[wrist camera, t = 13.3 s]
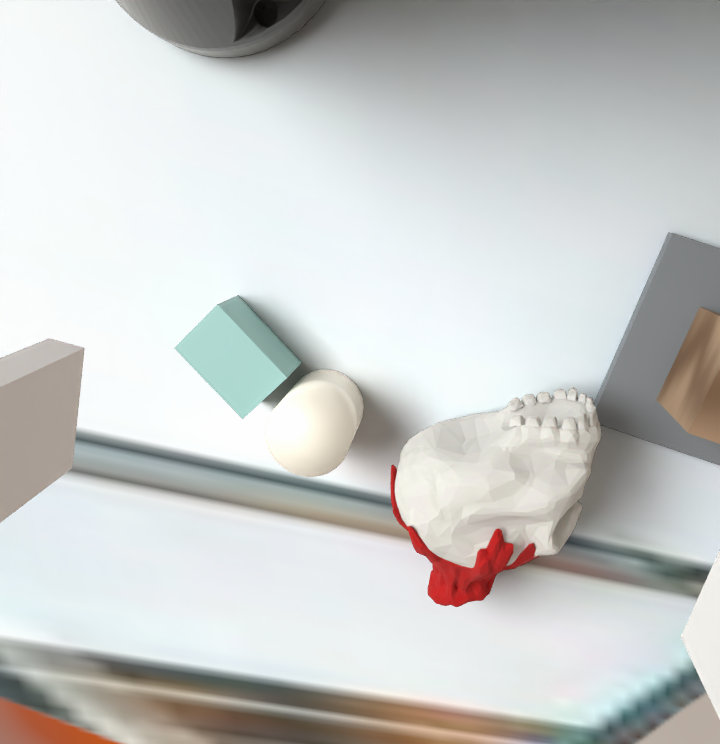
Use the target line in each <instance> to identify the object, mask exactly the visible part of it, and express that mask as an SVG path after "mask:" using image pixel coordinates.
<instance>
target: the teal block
mask: <svg viewBox="0 0 720 744" xmlns="http://www.w3.org/2000/svg"><path fill="white" fill-rule="evenodd" d="M175 349H176V350H177V351H178V352H179V353H180V354H181V356H182V357H183V358H184V359H185V360H186V361H187V362H188V363H189V364H190V365H191V366H192V367H193V368H194V369H195V370H196V371H197V372H198V373H199V374H200V375H201V376H202V377H203V378H204V379H205V380H206V382H207V383H208V384H209V385H210V386H211V387H212V388H213V389H214V390H215V391H216V392H217V393H218V394H219V395H220V396H221V397H222V398H223V399H224V400H225V401H226V402H227V403H228V404H229V405H230V406H231V407H232V409H233V410H234V411H235V412H236V413H237V414H238V415H239V416H240V417H241V418H242V419H243V418H244V417H245V416H247V415H248V414H249V413H250V412H251V411H252V410H253V409H254V408H255V407H256V406H257V405H258V404H260V403H261V402H262V401H263V400H264V399H265V398H266V397H267V396H268V395H269V394H270V393H271V392H273V391H274V390H275V389H276V388H277V387H278V386H279V385H280V384H281V383H282V382H283V381H284V380H286V379H287V378H288V377H289V376H290V375H291V373H292V372H293V371H294V370H295V369H296V368H297V367H298V366H299V365H300V364H301V363H302V362H301V361H300V360H299V359H298V358H297V357H296V356H295V355H294V354H293V353H292V352H291V351H290V350H289V349H288V348H287V347H286V345H285V344H284V343H283V342H282V341H281V340H280V339H279V338H278V337H277V336H276V335H275V334H274V333H273V332H272V331H271V330H270V329H269V327H268V326H267V325H266V324H265V323H264V322H263V321H262V320H261V319H260V318H259V317H258V316H257V315H256V314H255V313H254V312H253V311H252V309H251V308H250V307H249V306H248V305H247V304H246V303H245V302H244V301H243V300H242V299H241V298H240V297H239V296H236V297H233V298H231V299H229V300H227V301H224V302H222V303H220V304H218V305H217V306H216V307H215V308H214V309H213V310H212V311H211V312H210V313H209V314H208V315H207V316H206V317H205V318H204V319H203V320H202V321H201V322H200V323H199V324H198V325H197V326H196V327H195V328H194V329H193V330H192V331H191V332H190V333H189V334H188V335H187V336H186V337H185V338H184V339H183V340H182V341H181V342H180V343H179V344H178V345H177V346H176V347H175Z"/></svg>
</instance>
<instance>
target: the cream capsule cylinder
mask: <svg viewBox="0 0 720 744" xmlns="http://www.w3.org/2000/svg"><path fill="white" fill-rule="evenodd" d="M363 411H364V403H363V398H362V395H361V393H360V390H359V389H358V387H357V386H356V384H355V383H354V382H353V381H352V380H351V379H350V378H348V377H347V376H346V375H344V374H342V373H340V372H337V371H334V370H328V369H322V370H316V371H312V372H310V373H308V374H306V375H304V376H303V377H302V378H301V379H300V380H299V381H298V382H297V383H296V384H295V385H294V386H293V388H292V389H291V390H290V391H289V392H288V393H287V395H286V396H285V397H284V398H283V399H282V400H281V401H280V403H279V404H278V405H277V406H276V407H275V408H274V410H273V411H272V412H271V414H270V416H269V418H268V421H267V424H266V430H265V436H266V443H267V446H268V449H269V451H270V453H271V455H272V456H273V458H274V459H275V460H276V461H277V463H279V464H280V465H281V466H282V467H283V468H285V469H286V470H288V471H290V472H292V473H294V474H297V475H300V476H306V477H315V476H321V475H324V474H327V473H329V472H331V471H332V470H334V469H335V468H337V467H338V466H339V465H340V464H341V462H342V461H343V460H344V458H345V456H346V454H347V452H348V450H349V447H350V445H351V443H352V440H353V438H354V436H355V434H356V431H357V429H358V427H359V424H360V422H361V420H362V416H363Z"/></svg>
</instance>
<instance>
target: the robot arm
mask: <svg viewBox="0 0 720 744" xmlns="http://www.w3.org/2000/svg"><path fill="white" fill-rule="evenodd" d="M116 1H117V3H118V4H119V5H120V6H121V7H122V8H123V9H124V10H125V11H126V12H127V13H128V14H129V15H130V16H131V17H132V18H133V19H134V20H135V21H136V22H138V23H139V24H140V25H141V26H143V27H144V28H145V29H147V30H148V31H150V32H151V33H153V34H155V35H157V36H158V37H160V38H162V39H164V40H166V41H168V42H169V43H171V44H173V45H175V46H177V47H180V48H182V49H184V50H187V51H190V52H193V53H196V54H200V55H205V56H211V57H239V56H246V55H250V54H254V53H258V52H261V51H264V50H266V49H269V48H271V47H273V46H275V45H277V44H279V43H281V42H283V41H284V40H286V39H287V38H289V37H290V36H292V35H293V34H294V33H296V32H297V31H298V30H300V29H301V28H302V27H303V26H304V25H305V24H306V23H307V22H308V21H309V20H310V19H311V18H312V17H313V16H314V15H315V14H316V13H317V11H318V10H319V9H320V8H321V6H322V5H323V4H324V2H325V1H326V0H116ZM83 357H84V348H83V347H79V346H75V345H72V344H68V343H64V342H60V341H57V340H53V339H47V340H44V341H42V342H39V343H37V344H34V345H32V346H30V347H27V348H25V349H22V350H20V351H17V352H15V353H12V354H10V355H7V356H5V357H2V358H0V522H2V521H3V520H4V519H6V518H7V517H8V516H10V515H11V514H12V513H14V512H15V511H16V510H17V509H19V508H20V507H21V506H23V505H24V504H25V503H27V502H28V501H29V500H31V499H32V498H33V497H35V496H36V495H37V494H39V493H40V492H41V491H43V490H44V489H45V488H46V487H48V486H49V485H50V484H52V483H53V482H54V481H56V480H57V479H58V478H60V477H61V476H62V475H64V474H65V473H66V472H68V471H69V470H70V469H72V465H73V455H74V446H75V436H76V426H77V416H78V406H79V397H80V387H81V377H82V367H83ZM681 639H682V641H683V643H684V645H685V647H686V650H687V652H688V654H689V656H690V658H691V660H692V662H693V664H694V666H695V669H696V671H697V673H698V675H699V677H700V679H701V681H702V683H703V685H704V688H705V690H706V692H707V694H708V696H709V698H710V700H711V702H712V704H713V706H714V709H715V711H716V713H717V715H718V717H719V719H720V551H719V553H718V555H717V557H716V559H715V562H714V564H713V566H712V568H711V571H710V573H709V575H708V577H707V580H706V582H705V584H704V586H703V589H702V591H701V593H700V595H699V597H698V600H697V602H696V604H695V606H694V609H693V611H692V613H691V615H690V618H689V620H688V622H687V624H686V627H685V629H684V631H683V633H682V635H681Z"/></svg>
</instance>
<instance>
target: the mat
mask: <svg viewBox="0 0 720 744" xmlns="http://www.w3.org/2000/svg"><path fill="white" fill-rule="evenodd" d="M700 307H702V308H705V309H708V310H711V311H714V312H717V313H720V248H717V247H714V246H711V245H707V244H704V243H701V242H698V241H695V240H692V239H689V238H686V237H683V236H679V235H676V234H673V233H668V235H667V237H666V239H665V242H664V244H663V246H662V249H661V251H660V253H659V256H658V258H657V260H656V262H655V265H654V267H653V269H652V272H651V274H650V276H649V278H648V281H647V283H646V285H645V288H644V290H643V292H642V295H641V297H640V299H639V301H638V304H637V306H636V308H635V311H634V313H633V315H632V317H631V320H630V322H629V324H628V327H627V329H626V331H625V334H624V336H623V338H622V340H621V343H620V345H619V347H618V350H617V352H616V354H615V356H614V359H613V361H612V363H611V366H610V368H609V370H608V373H607V375H606V377H605V379H604V382H603V384H602V386H601V389H600V391H599V393H598V395H597V398H596V400H595V402H594V406H595V407H596V412H597V416H598V421H599V423H600V425H602V426H605V427H608V428H611V429H614V430H617V431H620V432H623V433H626V434H629V435H632V436H635V437H638V438H641V439H644V440H647V441H649V442H652V443H655V444H658V445H661V446H664V447H667V448H670V449H673V450H676V451H679V452H682V453H685V454H688V455H691V456H694V457H697V458H700V459H703V460H706V461H708V462H711V463H714V464H717V465H720V444H719V443H716V442H713V441H710V440H707V439H704V438H701V437H698V436H695V435H692V434H689V433H688V432H687V431H686V430H685V429H684V428H683V427H682V426H681V425H680V424H679V423H678V422H677V421H676V420H675V419H674V418H673V417H672V416H671V415H670V414H669V413H668V412H667V411H666V410H665V408H664V407H663V406H662V405H661V404H660V403H659V402H658V401H657V400H656V399H657V397H658V395H659V393H660V391H661V389H662V386H663V384H664V382H665V380H666V378H667V376H668V374H669V372H670V369H671V367H672V365H673V363H674V361H675V359H676V357H677V354H678V352H679V350H680V348H681V346H682V344H683V342H684V340H685V337H686V335H687V333H688V331H689V329H690V327H691V325H692V322H693V320H694V318H695V316H696V314H697V312H698V310H699V308H700Z"/></svg>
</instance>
